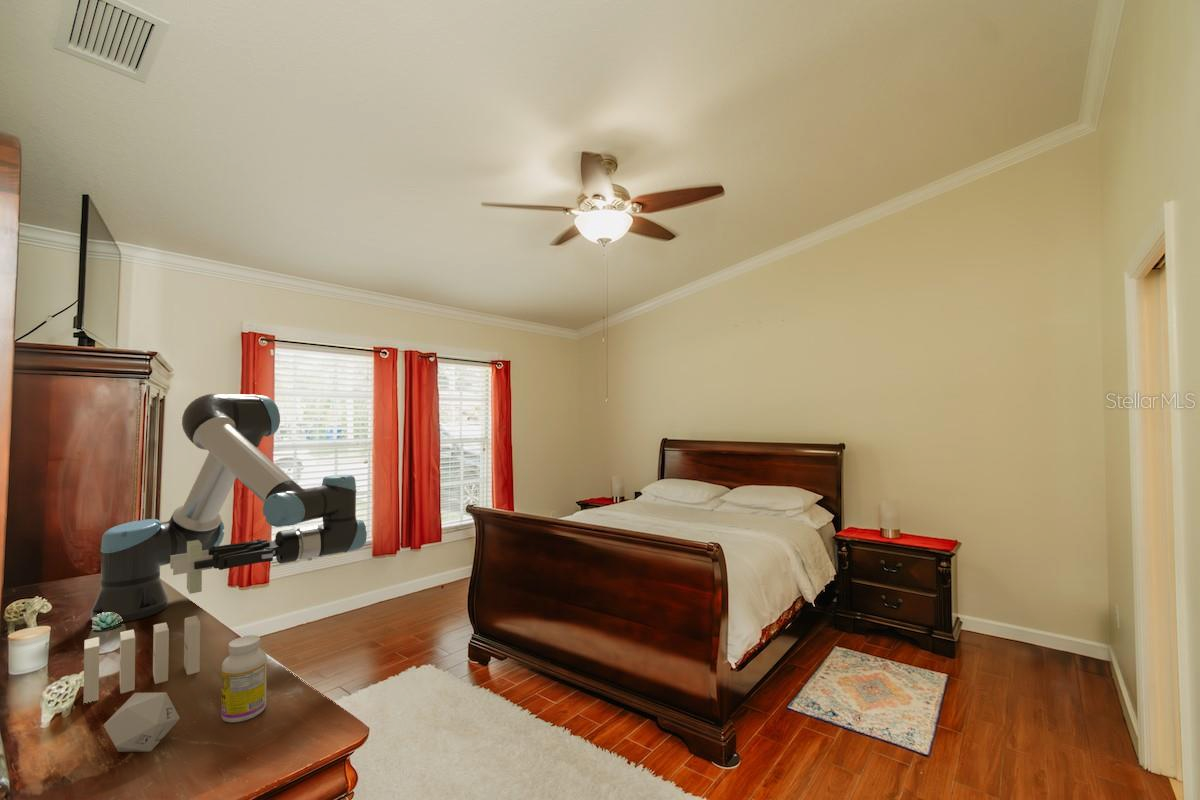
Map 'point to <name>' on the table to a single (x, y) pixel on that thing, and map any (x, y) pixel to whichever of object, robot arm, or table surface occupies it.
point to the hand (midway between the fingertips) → (172, 565)
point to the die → (141, 722)
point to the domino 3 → (195, 577)
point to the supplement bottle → (243, 680)
